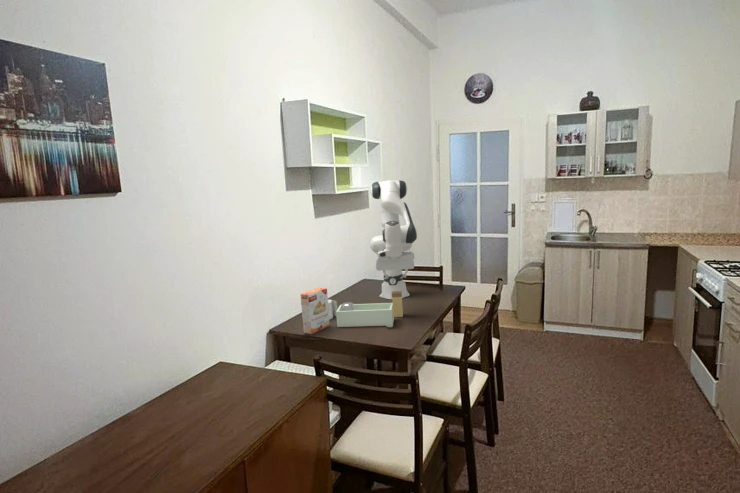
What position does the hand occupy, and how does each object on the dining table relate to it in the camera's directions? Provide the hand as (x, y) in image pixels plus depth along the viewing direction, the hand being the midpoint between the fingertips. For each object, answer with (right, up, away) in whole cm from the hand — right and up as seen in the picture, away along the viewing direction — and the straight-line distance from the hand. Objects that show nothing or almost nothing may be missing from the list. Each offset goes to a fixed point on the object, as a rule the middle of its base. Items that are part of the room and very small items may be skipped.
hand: (395, 277), depth 234 cm
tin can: (-25, -23, -6) cm, 34 cm away
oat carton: (+1, -21, +3) cm, 21 cm away
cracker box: (-40, -26, -11) cm, 49 cm away
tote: (-16, -23, -6) cm, 29 cm away
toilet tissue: (-38, -23, +6) cm, 45 cm away
